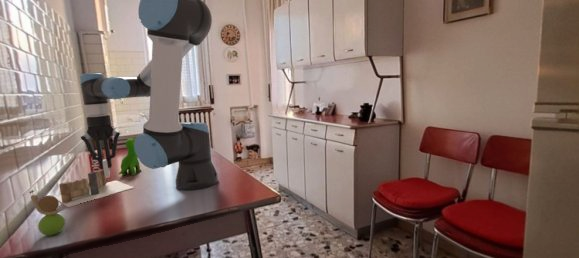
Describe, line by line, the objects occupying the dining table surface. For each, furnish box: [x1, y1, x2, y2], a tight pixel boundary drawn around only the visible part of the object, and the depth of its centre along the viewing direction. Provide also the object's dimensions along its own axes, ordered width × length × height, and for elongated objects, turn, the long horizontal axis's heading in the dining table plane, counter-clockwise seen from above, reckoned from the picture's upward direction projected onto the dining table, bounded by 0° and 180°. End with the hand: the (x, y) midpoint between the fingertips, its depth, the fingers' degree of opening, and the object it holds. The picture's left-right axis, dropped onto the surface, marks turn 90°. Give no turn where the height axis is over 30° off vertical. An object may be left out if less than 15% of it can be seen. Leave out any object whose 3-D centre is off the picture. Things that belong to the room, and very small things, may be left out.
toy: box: [118, 137, 142, 176], centre depth 131 cm, size 6×14×15 cm, turn 174°
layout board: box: [54, 179, 135, 208], centre depth 110 cm, size 16×21×1 cm
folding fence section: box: [96, 170, 107, 189], centre depth 113 cm, size 9×3×6 cm, turn 18°
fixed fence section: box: [58, 172, 99, 204], centre depth 104 cm, size 11×3×8 cm, turn 141°
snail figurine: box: [28, 190, 66, 236], centre depth 78 cm, size 5×6×12 cm
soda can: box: [88, 150, 108, 180], centre depth 125 cm, size 5×5×12 cm
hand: (107, 176), depth 117 cm, fingers closed
